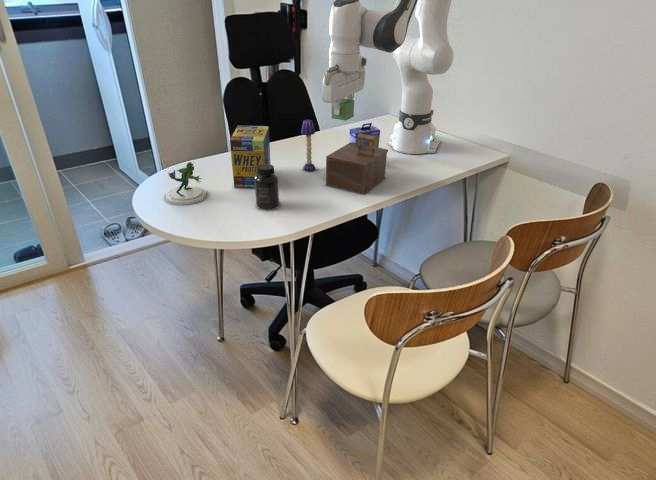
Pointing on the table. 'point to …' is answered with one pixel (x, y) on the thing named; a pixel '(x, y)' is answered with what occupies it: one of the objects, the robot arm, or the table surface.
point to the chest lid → (358, 152)
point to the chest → (355, 175)
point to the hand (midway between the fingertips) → (342, 111)
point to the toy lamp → (308, 143)
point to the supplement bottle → (266, 187)
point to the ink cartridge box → (365, 130)
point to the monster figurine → (185, 188)
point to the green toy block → (345, 110)
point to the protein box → (249, 153)
